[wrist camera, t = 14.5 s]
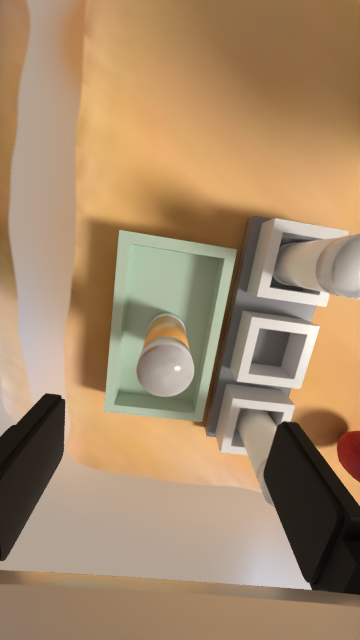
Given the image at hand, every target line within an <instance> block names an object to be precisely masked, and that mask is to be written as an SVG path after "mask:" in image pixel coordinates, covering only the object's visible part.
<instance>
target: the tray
mask: <svg viewBox="0 0 360 640" xmlns="http://www.w3.org/2000/svg"><path fill="white" fill-rule="evenodd" d="M236 253H237V249H232V248H226V247H220V246H214V245H208V244H202V243H196V242H190V241H184V240H178V239H172V238H166V237H160V236H153V235H147V234H141V233H135V232H129V231H123V230H119V238H118V250H117V262H116V274H115V286H114V298H113V309H112V321H111V333H110V345H109V357H108V369H107V381H106V393H105V405H104V412H109V413H119V414H129V415H139V416H149V417H159V418H168V419H178V420H188V421H198V422H202V420H203V415H204V410H205V405H206V400H207V395H208V390H209V386H210V381H211V376H212V371H213V366H214V361H215V356H216V351H217V346H218V341H219V336H220V332H221V327H222V322H223V317H224V312H225V307H226V302H227V297H228V292H229V287H230V282H231V277H232V273H233V268H234V263H235V258H236ZM163 312H170V313H174V314H176V315H177V316H179V317H180V318H181V320H182V321H183V323H184V326H185V330H186V337H187V341H188V346H189V350H190V353H191V356H192V360H193V364H194V376H193V379H192V381H191V383H190V384H189V386H188V387H187V388H186V389H185V390H184V391H182V392H181V393H179V394H177V395H173V396H168V397H161V396H157V395H154V394H151V393H149V392H148V391H146V390H145V389H144V388H143V387H142V386H141V384H140V383H139V381H138V378H137V374H136V367H137V363H138V359H139V356H140V353H141V351H142V348H143V345H144V342H145V338H146V335H147V330H148V327H149V323H150V321H151V320H152V319H153V317H155V316H156V315H157V314H160V313H163Z"/></svg>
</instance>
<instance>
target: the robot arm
mask: <svg viewBox="0 0 360 640" xmlns="http://www.w3.org/2000/svg"><path fill="white" fill-rule="evenodd" d="M64 425H65V399H61V395H56V394H45V395H43V396H42V398H41V399H40V400H39V401H38V402H37V403H36V404H35V405H34V406H33V407H32V408H31V409H30V410H29V411H28V412H27V413H26V415H25V416H24V417H23V418H22V419H21V420H20V421H19V422H18V423H17V424H16V425H13V426H11V427H10V428H8V430H6V431H5V433H4V434H3V435H2V436H1V437H0V561H4V560H5V559H6V558H7V556H8V555H9V553H10V551H11V549H12V548H13V546H14V544H15V542H16V540H17V539H18V537H19V535H20V533H21V531H22V529H23V528H24V526H25V524H26V522H27V520H28V519H29V517H30V515H31V513H32V511H33V509H34V508H35V506H36V504H37V503H38V501H39V499H40V497H41V495H42V494H43V492H44V490H45V488H46V486H47V484H48V483H49V481H50V479H51V477H52V476H53V474H54V472H55V470H56V468H57V467H58V465H59V463H60V461H61V459H62V456H63V452H64ZM263 477H264V481H265V484H266V486H267V489H268V491H269V494H270V496H271V498H272V501H273V503H274V506H275V508H276V511H277V513H278V516H279V518H280V521H281V523H282V526H283V528H284V530H285V533H286V535H287V538H288V540H289V543H290V545H291V548H292V550H293V553H294V555H295V557H296V560H297V563H298V565H299V568H300V570H301V572H302V575H303V577H304V579H305V580H306V581H307V582H308V583H310V585H311V588H312V590H304V589H291V588H278V587H264V586H251V585H238V584H223V583H210V582H209V583H208V582H195V581H181V580H166V579H152V578H136V577H120V576H119V577H118V576H103V575H87V574H71V573H55V572H31V571H6V570H0V640H360V506H359V505H358V503H357V502H356V501H355V499H354V498H353V497H352V495H351V494H350V493H349V491H348V490H347V489H346V487H345V486H344V484H343V483H342V482H341V480H340V479H339V478H338V476H337V475H336V474H335V472H334V471H333V470H332V468H331V467H330V466H329V464H328V463H327V462H326V460H325V459H324V458H323V456H322V455H321V454H320V452H319V451H318V450H317V448H316V447H315V446H314V444H313V443H312V442H311V440H310V439H309V438H308V436H307V435H306V434H305V432H304V431H303V430H302V428H301V427H300V426H299V424H298V423H296V422H288V421H283V422H282V423H281V424H279V425H278V426H277V429H276V432H275V435H274V439H273V442H272V445H271V448H270V452H269V455H268V458H267V462H266V465H265V468H264V472H263Z"/></svg>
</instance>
